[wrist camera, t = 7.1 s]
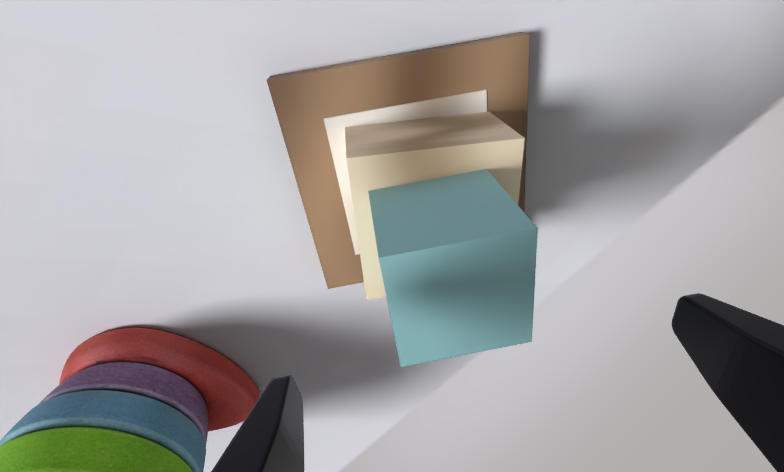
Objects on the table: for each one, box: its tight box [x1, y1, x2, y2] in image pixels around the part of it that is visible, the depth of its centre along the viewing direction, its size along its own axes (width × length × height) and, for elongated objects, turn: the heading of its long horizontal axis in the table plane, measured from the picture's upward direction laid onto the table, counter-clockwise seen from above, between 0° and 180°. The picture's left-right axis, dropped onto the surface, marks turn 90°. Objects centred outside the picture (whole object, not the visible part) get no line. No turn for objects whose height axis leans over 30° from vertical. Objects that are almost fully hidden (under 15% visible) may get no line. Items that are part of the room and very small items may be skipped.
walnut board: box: [267, 32, 530, 289], centre depth 20 cm, size 11×11×1 cm
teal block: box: [368, 169, 538, 367], centre depth 14 cm, size 4×4×4 cm
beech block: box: [345, 112, 525, 300], centre depth 18 cm, size 6×6×4 cm
